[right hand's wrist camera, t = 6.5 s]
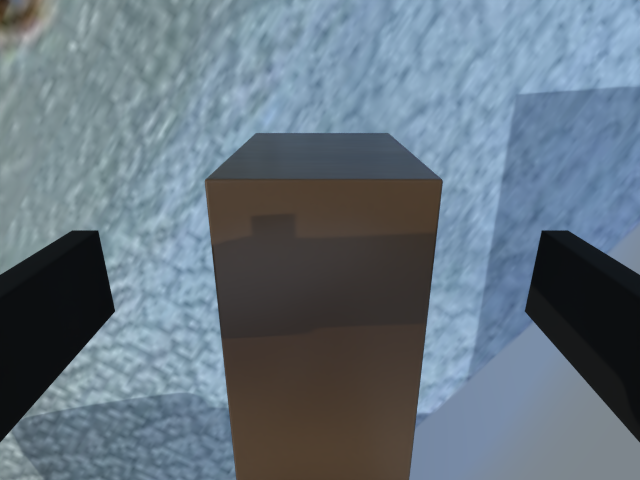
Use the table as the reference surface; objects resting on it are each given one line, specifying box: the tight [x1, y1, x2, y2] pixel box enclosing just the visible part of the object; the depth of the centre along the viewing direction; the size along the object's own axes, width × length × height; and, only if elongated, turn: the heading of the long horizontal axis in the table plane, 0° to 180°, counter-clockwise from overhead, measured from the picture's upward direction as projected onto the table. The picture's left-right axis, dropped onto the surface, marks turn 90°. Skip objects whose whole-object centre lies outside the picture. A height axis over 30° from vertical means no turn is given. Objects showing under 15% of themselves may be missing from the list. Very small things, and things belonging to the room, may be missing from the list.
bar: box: [205, 133, 443, 480], centre depth 18 cm, size 26×6×8 cm, turn 0°
